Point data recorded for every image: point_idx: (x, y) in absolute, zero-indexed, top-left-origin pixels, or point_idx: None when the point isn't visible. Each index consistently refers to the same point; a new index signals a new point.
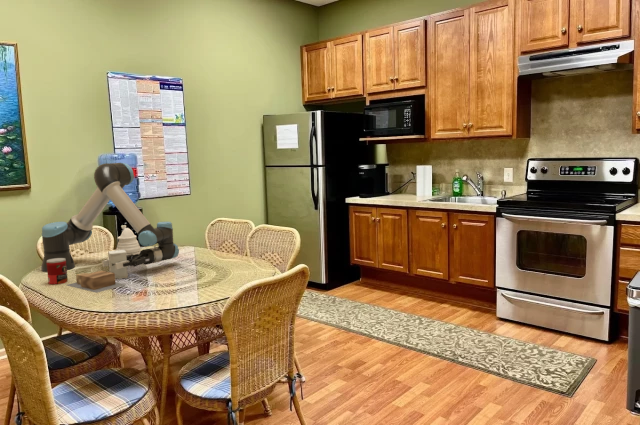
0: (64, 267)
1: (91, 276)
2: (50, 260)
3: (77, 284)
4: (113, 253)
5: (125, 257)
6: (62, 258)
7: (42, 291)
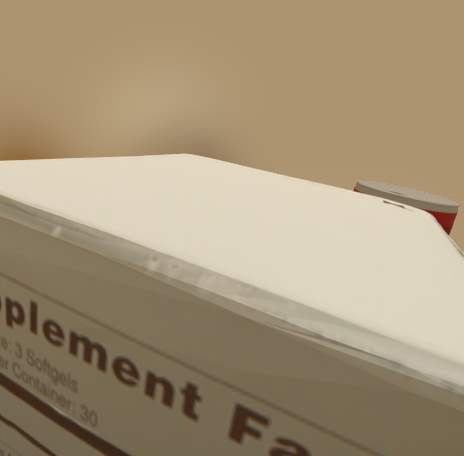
0: None
1: None
2: (421, 196)
3: None
4: (157, 156)
5: None
6: (438, 203)
7: None
